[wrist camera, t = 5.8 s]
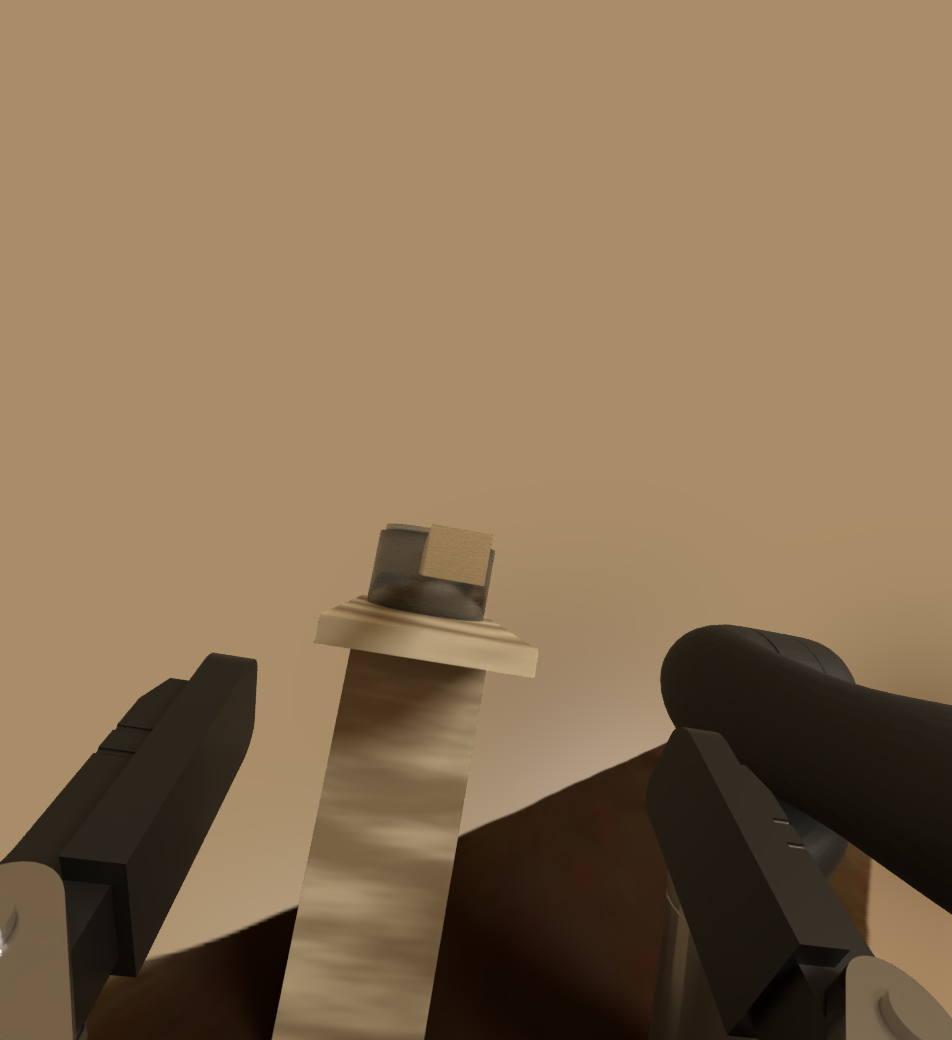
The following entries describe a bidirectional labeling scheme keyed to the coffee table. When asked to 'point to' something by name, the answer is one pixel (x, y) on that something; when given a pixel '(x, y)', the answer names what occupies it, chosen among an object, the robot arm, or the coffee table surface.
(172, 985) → the coffee table surface
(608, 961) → the coffee table surface
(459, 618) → the saucepan
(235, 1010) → the coffee table surface
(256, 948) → the coffee table surface
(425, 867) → the stand
